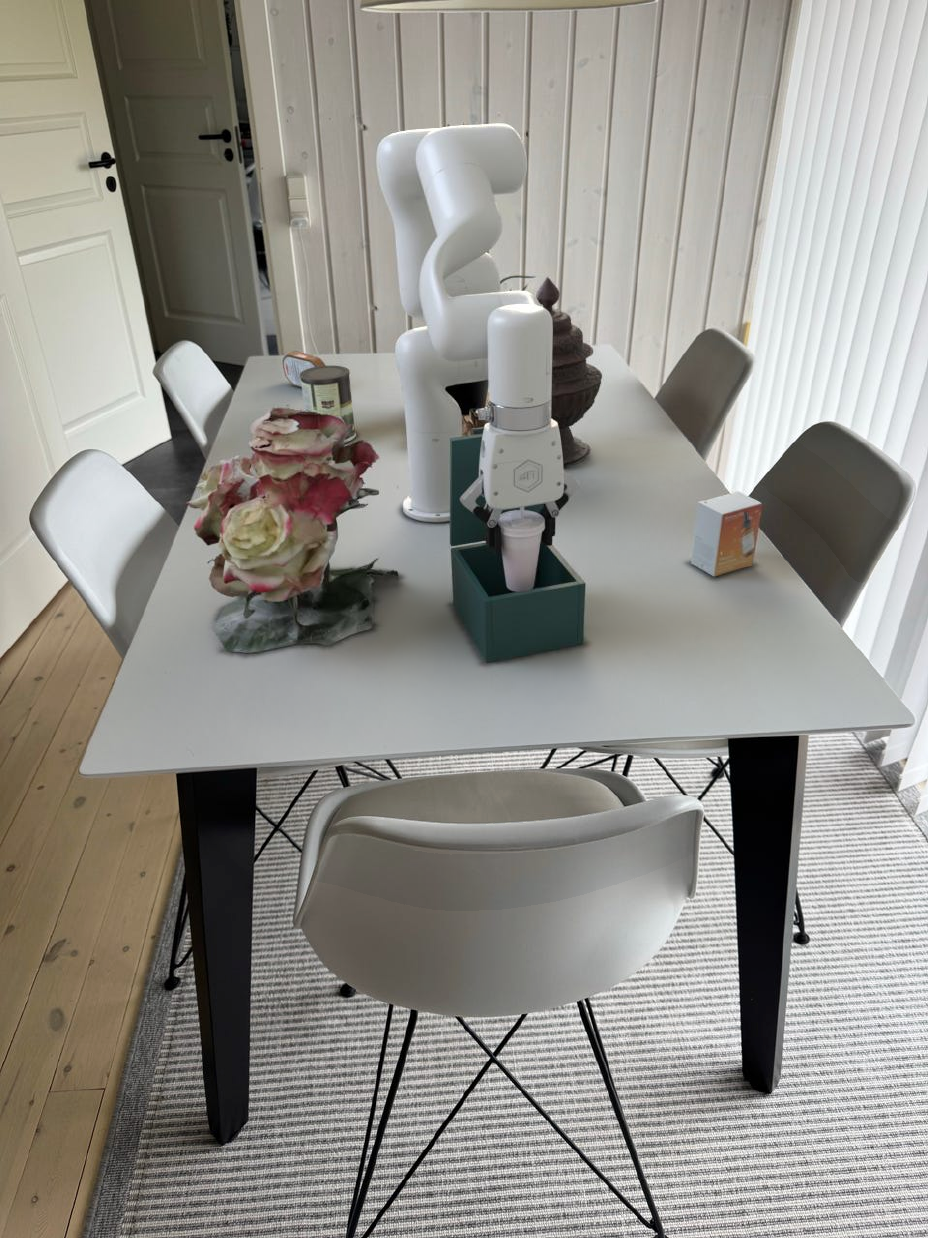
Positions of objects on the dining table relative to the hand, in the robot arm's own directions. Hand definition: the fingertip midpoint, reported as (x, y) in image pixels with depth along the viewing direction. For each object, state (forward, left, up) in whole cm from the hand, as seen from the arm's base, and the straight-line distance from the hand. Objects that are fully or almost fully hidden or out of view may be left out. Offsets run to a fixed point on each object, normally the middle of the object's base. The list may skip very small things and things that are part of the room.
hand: (520, 544), depth 118 cm
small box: (-37, +2, -14) cm, 39 cm away
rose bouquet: (+23, -23, -14) cm, 36 cm away
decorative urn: (-42, -50, -14) cm, 66 cm away
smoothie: (0, 0, -6) cm, 6 cm away
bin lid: (-2, -8, +5) cm, 9 cm away
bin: (-1, -2, -13) cm, 13 cm away
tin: (-22, -123, -14) cm, 126 cm away
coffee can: (-12, -87, -14) cm, 89 cm away
